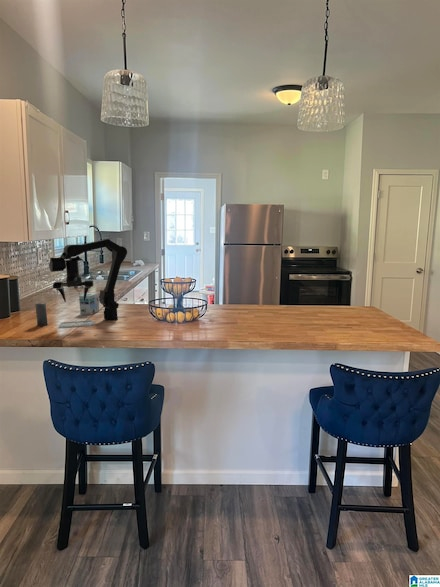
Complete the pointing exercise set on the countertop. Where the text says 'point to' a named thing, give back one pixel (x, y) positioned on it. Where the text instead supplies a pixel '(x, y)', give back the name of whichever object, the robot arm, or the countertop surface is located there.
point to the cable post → (41, 314)
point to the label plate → (76, 324)
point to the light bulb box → (89, 303)
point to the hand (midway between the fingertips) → (74, 301)
